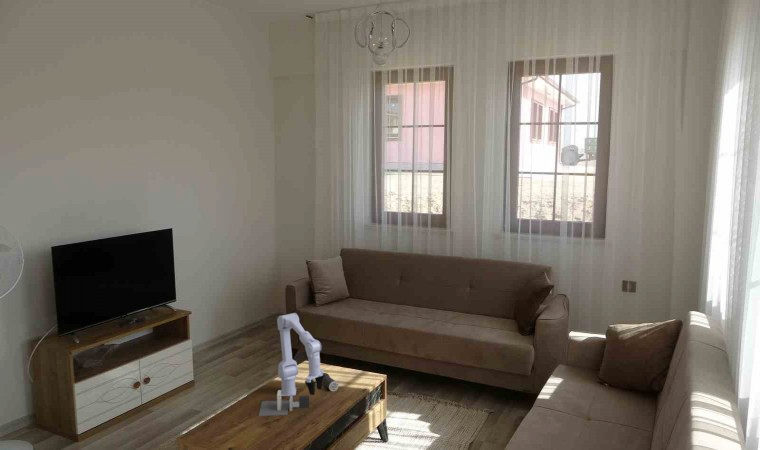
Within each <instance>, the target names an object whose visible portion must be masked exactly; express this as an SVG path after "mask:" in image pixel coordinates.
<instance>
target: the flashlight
mask: <svg viewBox="0 0 760 450" xmlns="http://www.w3.org/2000/svg"><path fill="white" fill-rule="evenodd" d="M323 374H325V378H324V380H323V384H325V385H326V386H327V388H328V389H329V390H330V391H331V392H335V391H337V390H338V389H339V385H340V384H339V383H338V381H336V379H334V378H332V377H331V375H329V373H326V372H323Z"/></svg>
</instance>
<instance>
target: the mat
mask: <svg viewBox="0 0 760 450" xmlns="http://www.w3.org/2000/svg"><path fill="white" fill-rule="evenodd" d="M289 400H290V399H289ZM289 400H281V404H282V405H281V410H277V400H265V401H264V400H263V401H261V405H260V408H259V414H258V416H259V417H267V416H268V417H269V416H287V415H288V414H289V408H290V403H289Z"/></svg>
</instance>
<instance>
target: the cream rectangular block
mask: <svg viewBox="0 0 760 450" xmlns="http://www.w3.org/2000/svg"><path fill="white" fill-rule="evenodd" d="M276 401H277V410H281V405H282V404H281V401H282V396H281V389H278V390H277V392H276Z"/></svg>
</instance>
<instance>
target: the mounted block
mask: <svg viewBox="0 0 760 450" xmlns="http://www.w3.org/2000/svg"><path fill="white" fill-rule="evenodd" d="M293 397H294V395H293V394H290V396H289V412H293V408H299V409H309V408H310V395H299V396H298V400H299V401H294V398H293Z"/></svg>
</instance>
